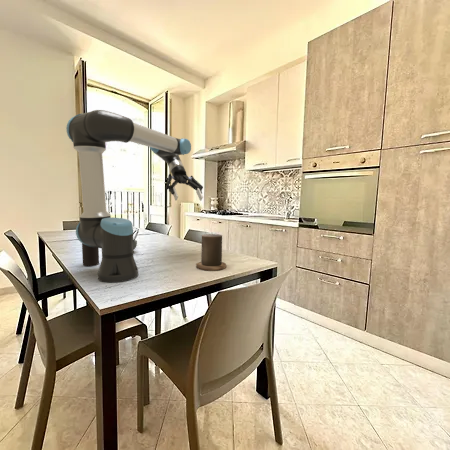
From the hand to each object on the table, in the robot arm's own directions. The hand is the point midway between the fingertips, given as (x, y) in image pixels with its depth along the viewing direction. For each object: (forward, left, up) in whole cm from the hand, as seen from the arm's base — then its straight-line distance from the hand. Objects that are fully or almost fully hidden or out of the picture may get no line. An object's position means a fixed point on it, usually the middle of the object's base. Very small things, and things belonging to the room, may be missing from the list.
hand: (189, 198), depth 129 cm
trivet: (-3, -16, -32) cm, 35 cm away
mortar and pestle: (-7, +40, -32) cm, 52 cm away
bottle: (-33, +32, -32) cm, 56 cm away
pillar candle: (-3, -16, -30) cm, 34 cm away
